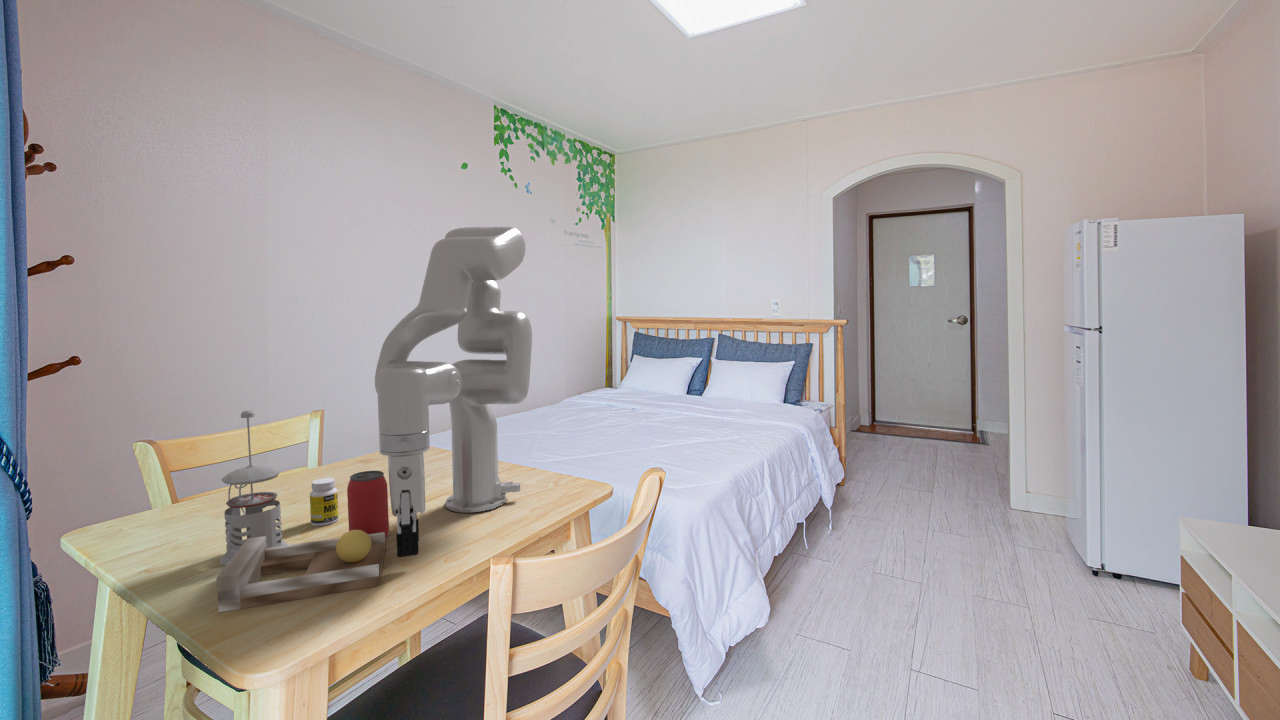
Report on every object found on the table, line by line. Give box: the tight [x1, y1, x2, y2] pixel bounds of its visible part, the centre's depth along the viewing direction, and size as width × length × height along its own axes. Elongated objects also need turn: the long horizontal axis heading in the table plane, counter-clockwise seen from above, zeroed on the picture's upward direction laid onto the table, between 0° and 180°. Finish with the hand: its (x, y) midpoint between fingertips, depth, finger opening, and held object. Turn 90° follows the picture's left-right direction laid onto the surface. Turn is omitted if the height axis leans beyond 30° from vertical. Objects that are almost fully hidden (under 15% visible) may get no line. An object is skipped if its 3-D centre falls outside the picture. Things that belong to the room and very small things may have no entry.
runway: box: [216, 532, 386, 613], centre depth 84 cm, size 20×14×5 cm
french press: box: [219, 409, 289, 566], centre depth 92 cm, size 10×12×25 cm
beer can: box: [346, 470, 390, 538], centre depth 98 cm, size 7×7×12 cm
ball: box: [336, 530, 371, 563], centre depth 86 cm, size 5×5×5 cm
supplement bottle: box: [309, 477, 339, 527], centre depth 106 cm, size 5×5×8 cm
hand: (408, 548), depth 89 cm, fingers open, 4 cm apart
